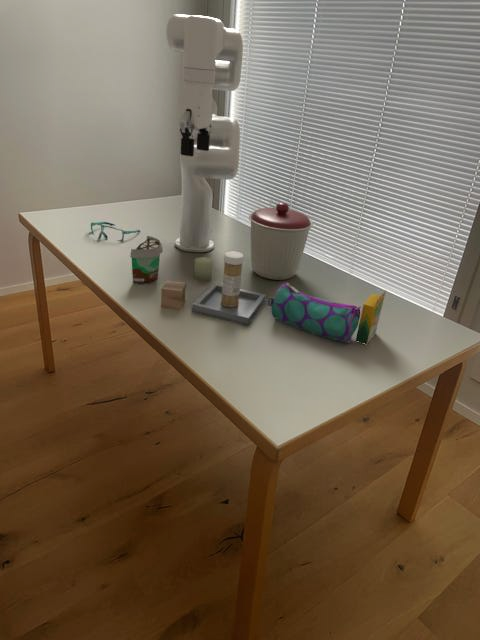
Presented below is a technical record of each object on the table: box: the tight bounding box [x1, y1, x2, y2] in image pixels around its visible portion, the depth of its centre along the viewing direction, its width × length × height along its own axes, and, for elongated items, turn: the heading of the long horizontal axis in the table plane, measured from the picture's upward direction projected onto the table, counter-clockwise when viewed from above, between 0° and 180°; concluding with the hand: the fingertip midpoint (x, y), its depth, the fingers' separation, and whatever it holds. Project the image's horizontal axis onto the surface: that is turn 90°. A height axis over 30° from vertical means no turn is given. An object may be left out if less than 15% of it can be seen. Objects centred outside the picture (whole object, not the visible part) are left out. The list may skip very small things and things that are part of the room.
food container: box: [130, 235, 164, 285], centre depth 134 cm, size 12×6×10 cm, turn 168°
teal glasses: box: [90, 221, 141, 242], centre depth 165 cm, size 14×15×5 cm
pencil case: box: [266, 282, 362, 344], centre depth 117 cm, size 21×9×10 cm, turn 59°
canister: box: [248, 202, 314, 281], centre depth 143 cm, size 18×18×21 cm
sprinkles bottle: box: [221, 250, 244, 307], centre depth 122 cm, size 5×5×13 cm
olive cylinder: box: [193, 256, 214, 282], centre depth 139 cm, size 5×5×5 cm
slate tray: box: [191, 282, 267, 326], centre depth 125 cm, size 14×14×2 cm
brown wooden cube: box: [160, 280, 187, 310], centre depth 123 cm, size 5×5×5 cm
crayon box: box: [355, 289, 387, 345], centre depth 116 cm, size 7×3×12 cm, turn 150°
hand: (195, 152), depth 125 cm, fingers open, 9 cm apart
